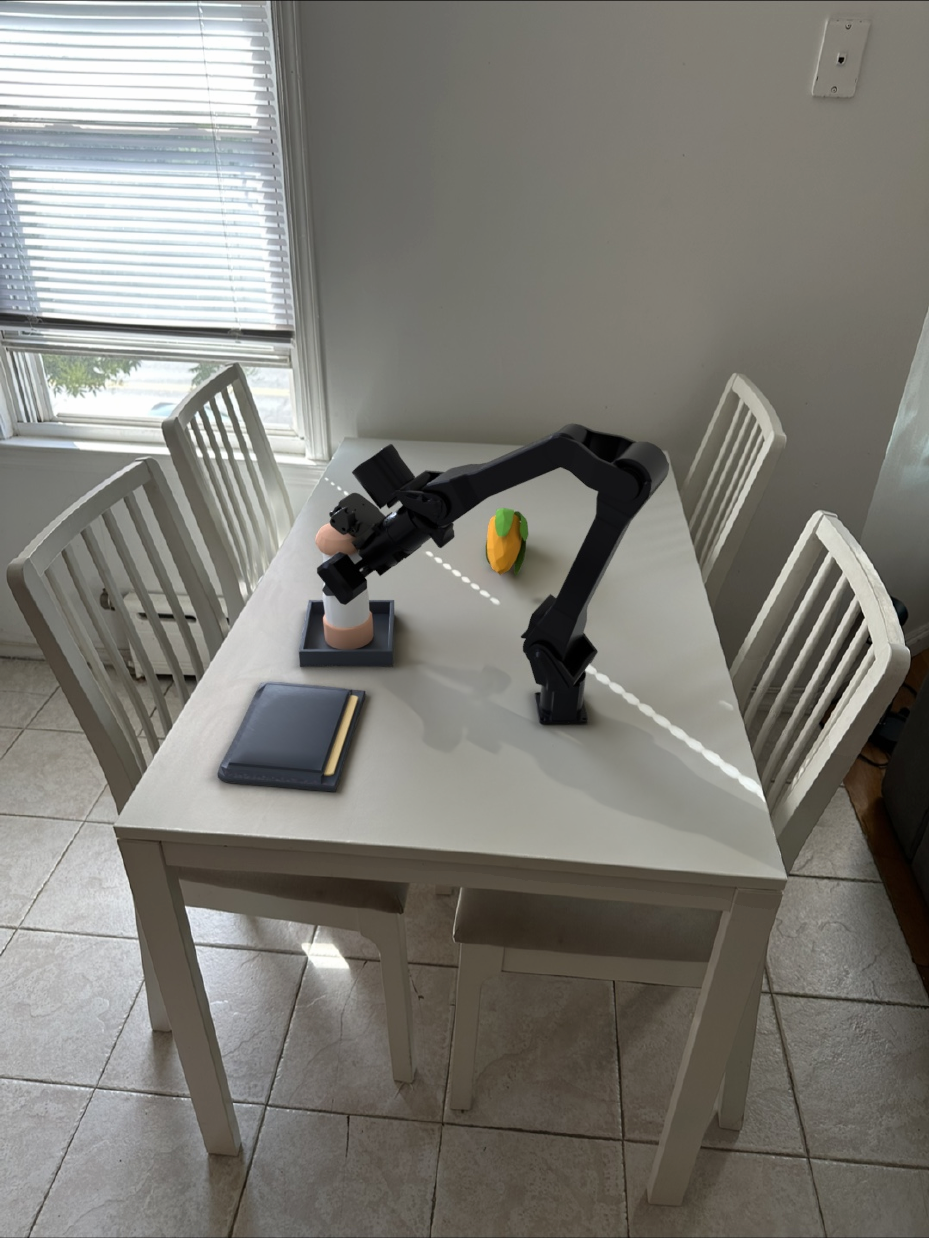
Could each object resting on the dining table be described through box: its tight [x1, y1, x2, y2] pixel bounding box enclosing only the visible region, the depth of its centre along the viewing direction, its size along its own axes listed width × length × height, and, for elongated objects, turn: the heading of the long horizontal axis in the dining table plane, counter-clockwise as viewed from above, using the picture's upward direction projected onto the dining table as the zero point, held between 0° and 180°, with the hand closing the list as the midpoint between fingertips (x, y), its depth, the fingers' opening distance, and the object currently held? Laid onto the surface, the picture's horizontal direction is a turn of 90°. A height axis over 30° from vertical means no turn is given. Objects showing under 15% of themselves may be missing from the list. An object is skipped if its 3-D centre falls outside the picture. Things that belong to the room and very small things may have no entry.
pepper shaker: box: [315, 522, 374, 649], centre depth 133 cm, size 7×7×19 cm
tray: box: [298, 599, 395, 667], centre depth 138 cm, size 14×13×3 cm
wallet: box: [216, 681, 367, 793], centre depth 118 cm, size 20×2×15 cm
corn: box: [485, 507, 529, 576], centre depth 158 cm, size 7×8×20 cm
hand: (339, 582), depth 134 cm, fingers open, 7 cm apart
